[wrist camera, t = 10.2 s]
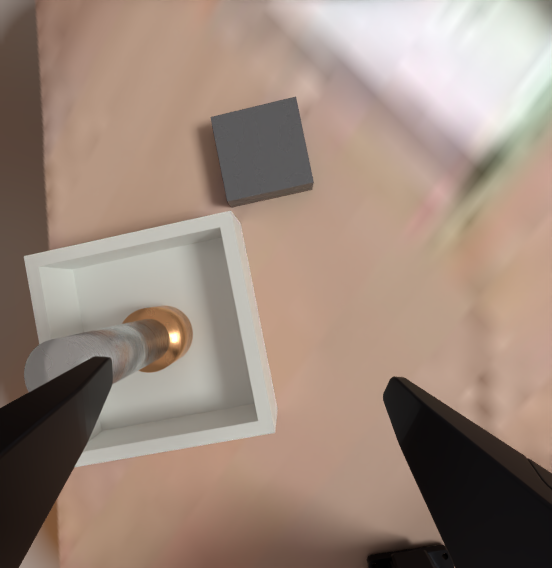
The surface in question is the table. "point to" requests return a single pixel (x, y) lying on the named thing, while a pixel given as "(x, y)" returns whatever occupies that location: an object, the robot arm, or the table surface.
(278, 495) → the table surface
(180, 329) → the knob
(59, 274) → the bin
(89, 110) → the table surface
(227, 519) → the table surface
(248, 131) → the stud plate
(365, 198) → the table surface
